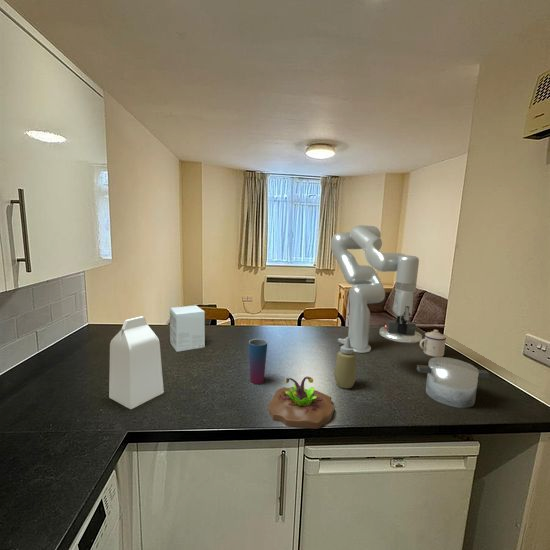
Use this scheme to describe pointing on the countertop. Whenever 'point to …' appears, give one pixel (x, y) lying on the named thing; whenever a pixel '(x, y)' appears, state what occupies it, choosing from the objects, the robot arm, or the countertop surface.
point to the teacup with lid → (434, 344)
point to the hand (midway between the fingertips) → (400, 331)
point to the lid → (392, 333)
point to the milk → (135, 364)
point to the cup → (257, 360)
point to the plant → (301, 406)
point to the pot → (452, 381)
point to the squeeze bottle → (345, 366)
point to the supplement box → (187, 328)
